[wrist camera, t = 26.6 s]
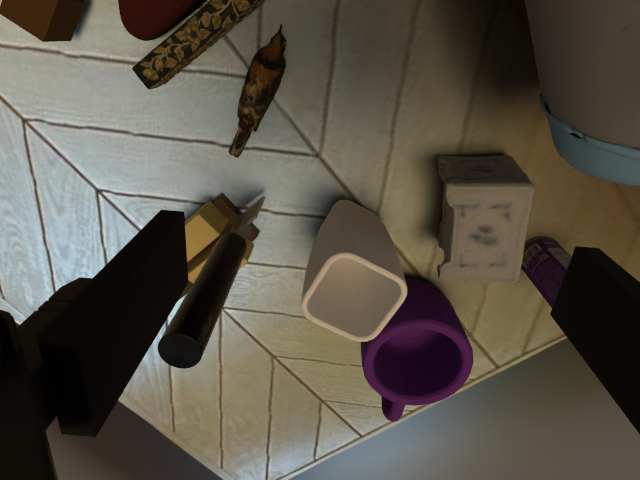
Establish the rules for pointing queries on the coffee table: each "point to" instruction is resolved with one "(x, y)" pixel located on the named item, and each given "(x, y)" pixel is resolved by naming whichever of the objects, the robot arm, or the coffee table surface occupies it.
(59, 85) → the coffee table surface
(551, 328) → the coffee table surface
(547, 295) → the container
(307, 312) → the cup
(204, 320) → the knife
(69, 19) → the toy
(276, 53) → the bird model
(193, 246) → the butter
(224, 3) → the decorative block
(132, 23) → the shoe
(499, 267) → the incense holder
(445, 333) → the mug
